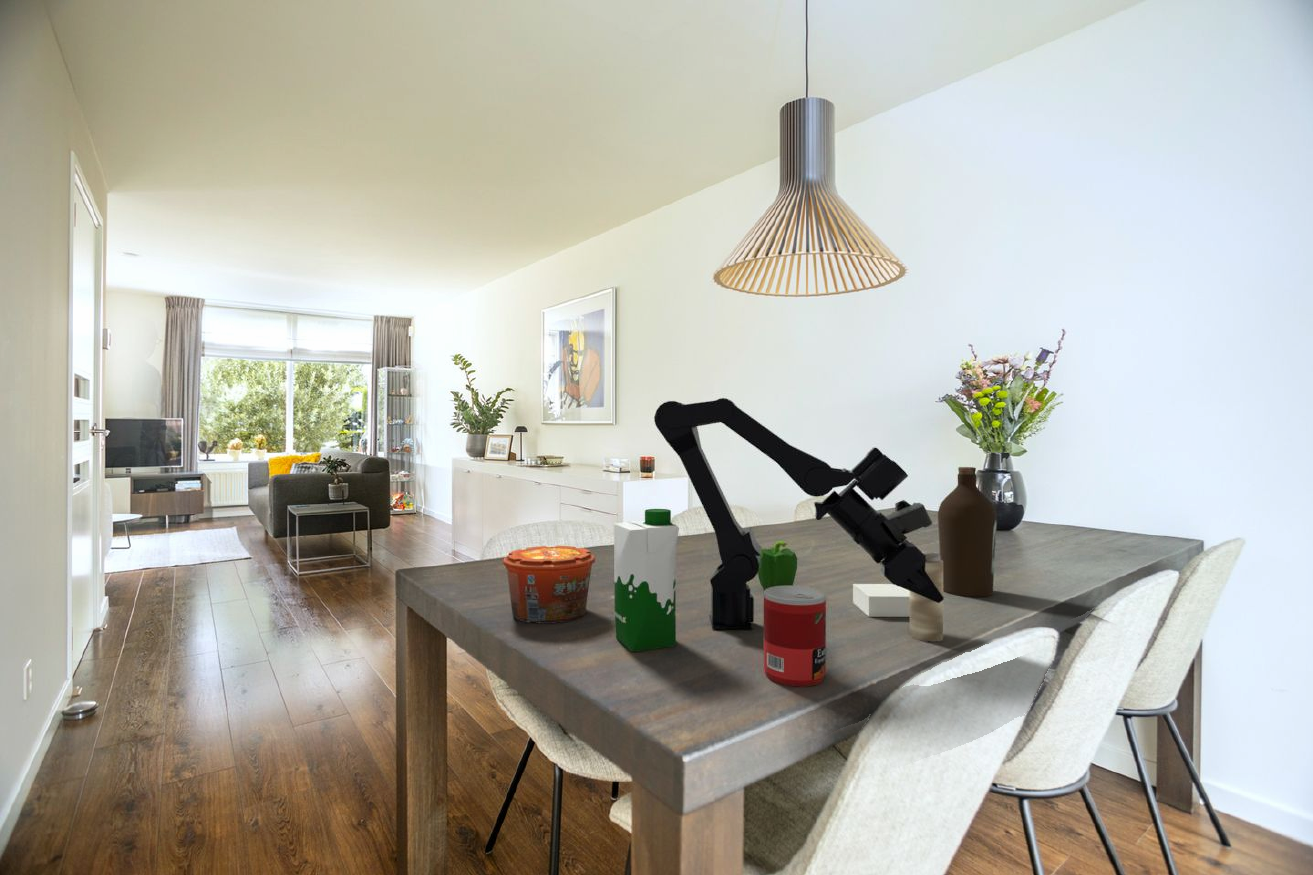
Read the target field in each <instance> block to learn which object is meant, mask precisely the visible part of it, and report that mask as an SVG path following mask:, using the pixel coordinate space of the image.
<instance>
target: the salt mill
mask: <svg viewBox="0 0 1313 875" xmlns="http://www.w3.org/2000/svg"><path fill="white" fill-rule="evenodd" d="M920 551H921V552H922V553H923V554H924V555H925V556H926V563H925V571H926V573H927V574H928V576H929V577H930V579H931V580H932V582H933V583H934V584H935V586H936V587H937V589H938V590H939V592H940V593H941V594H942V596H943V597H944V591H943V561H942V560H940V552H939V553H938V552H934V551H926V550H925V551H923V550H920ZM909 637H911V638H912V639H914V640H917V641H921V642H922V641H923V642H928V641H931V642H932V643H933V642H935V641H937V642H941V641H943V639H944V599H943V600H942V601H941V602H940V603H937V602H935V601H932V600H930V599H928V598H926V597H923V596H921V595H919V594H916V593H914V592H912V591H910V617H909Z"/></svg>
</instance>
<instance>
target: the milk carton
mask: <svg viewBox="0 0 1313 875" xmlns="http://www.w3.org/2000/svg"><path fill="white" fill-rule="evenodd" d="M671 511H672V510H671V509H667V508H649V509H645V510H644V520H630V521H627V522H616V523H615V522H614V523H613V541H614V542H613V543H614V544H613V546H614V549H613V550H614V551H613V552H614V554H613V555H614V556H613V557H614V558H613V560H614V564H613V565H614V570H613V571H614V575H613V576H614V578H613V579H614V580H613V581H614V583H613V584H614V624H615V639H617V640H618V641H619V642H620V641H621V642H622V643H621V642H620V643H621V644H622V645H624V646H625V647H626V648H627V649H628V650H629V651H630V652H631V653H635V652H641V651H648V650H655V649H661V648H668V646H669V647H675V646H677V631H676V630H677V627H676V626H677V621H676V618H677V617H676V616H677V615H676V614H677V613H676V611H677V610H676V597H677V596H676V595H677V594H676V589H677V588H676V578H677V577H676V573H677V572H676V571H677V570H676V569H677V568H676V566H677V565H676V562H677V561H676V559H677V557H676V556H677V555H676V553H677V545H678V544H677V543H678V537H679V530H680V527H679V526H678V525H676V524H673V522H672V519H671V518H672V515H671V514H672V512H671Z"/></svg>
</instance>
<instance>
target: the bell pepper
mask: <svg viewBox="0 0 1313 875" xmlns="http://www.w3.org/2000/svg"><path fill="white" fill-rule="evenodd" d="M787 543H788V542H785V541H784V540H779V541H777V542H776V543H775V545H774V547H770V548H762V549H761V553H760V556H761V560H760V566H759V570H758V573H757V576H758V579H759V583H760V585H761V587H762V589H763V588H764V590H765V589H767V588H770V587H774V586H794V583H795V579H796V575H797V574H796V573H797V570H798V557H797V554H796V553H795V552H794V551H792V550H791V549H790V548H787V547H786V546H787V545H788V544H787ZM780 547H783V548H782V549H781V548H780Z"/></svg>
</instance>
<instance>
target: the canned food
mask: <svg viewBox="0 0 1313 875" xmlns="http://www.w3.org/2000/svg"><path fill="white" fill-rule="evenodd" d="M826 601H827V598H826V594H825V593H824V592H823V591H821V590H819V589H816V588H813V587H809V586H808V587H807V586H803V585H793V586H774V587H770V588H767V589H765V588H764V592H763V671H764V674H765V676H766V677H767V678H768V679H769V680H770V681H773V682H774V683H776V684H777V683H778V684H780V685H783V686H790V687H798V688H799V687H812V686H817V685H818V684H820V683H822V682H823V681H824V678H825V675H826V672H827V670H826V666H827V665H826V659H827V658H826V655H827V654H826V652H827V648H826V647H827V646H826V645H827V642H826V641H827V640H826V639H827V632H826V631H827V602H826Z"/></svg>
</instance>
